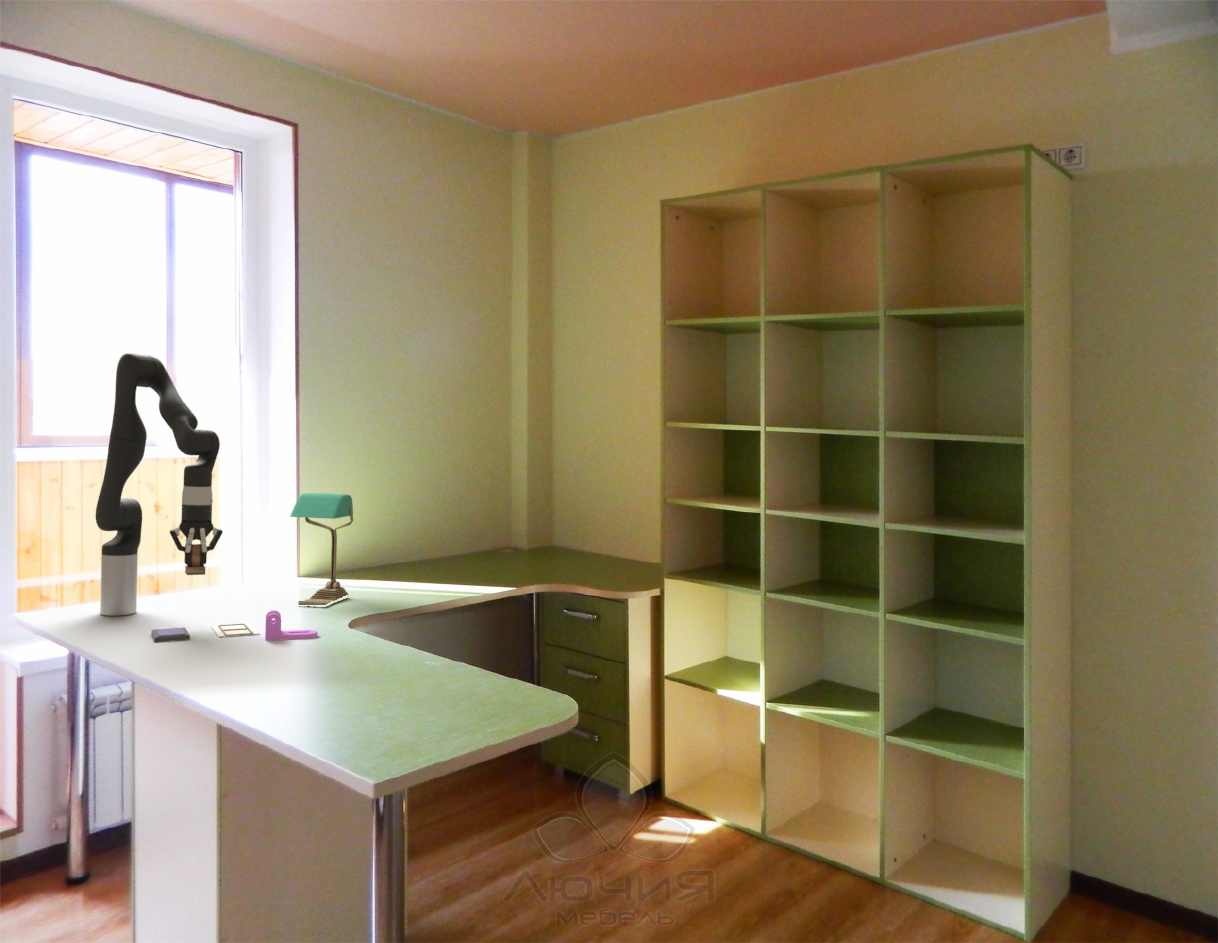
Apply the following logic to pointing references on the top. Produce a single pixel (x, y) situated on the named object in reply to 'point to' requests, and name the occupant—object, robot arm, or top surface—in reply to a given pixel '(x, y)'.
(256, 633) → the sheet
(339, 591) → the banker's lamp
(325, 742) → the top surface
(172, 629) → the ink pad
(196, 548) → the stamp
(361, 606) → the top surface
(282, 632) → the bracket
